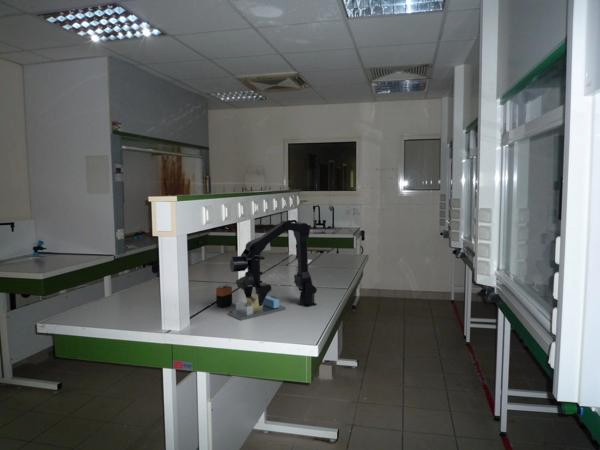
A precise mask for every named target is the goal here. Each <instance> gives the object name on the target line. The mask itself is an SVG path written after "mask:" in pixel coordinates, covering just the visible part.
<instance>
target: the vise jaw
mask: <svg viewBox="0 0 600 450" xmlns="http://www.w3.org/2000/svg"><path fill="white" fill-rule="evenodd" d="M263 305H266V306H269V307H271V308H278V307H279V305H280V299H279V296H276V295H270V296H269V295H266V297H265V299H264V302H263Z"/></svg>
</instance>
